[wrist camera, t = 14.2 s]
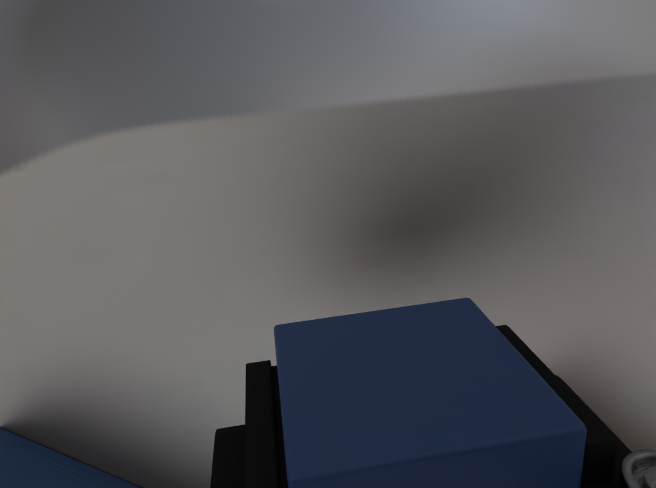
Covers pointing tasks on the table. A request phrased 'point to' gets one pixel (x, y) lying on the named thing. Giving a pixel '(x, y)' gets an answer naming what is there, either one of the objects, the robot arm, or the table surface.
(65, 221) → the table surface
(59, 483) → the blue bin
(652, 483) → the robot arm
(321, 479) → the blue block
